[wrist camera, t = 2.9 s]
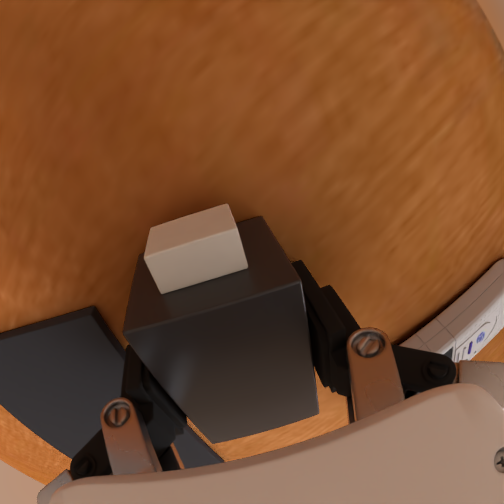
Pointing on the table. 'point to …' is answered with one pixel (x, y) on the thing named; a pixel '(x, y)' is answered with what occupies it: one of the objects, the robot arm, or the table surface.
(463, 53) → the table surface
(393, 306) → the table surface
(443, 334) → the electronic device
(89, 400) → the desk mat
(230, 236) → the block
